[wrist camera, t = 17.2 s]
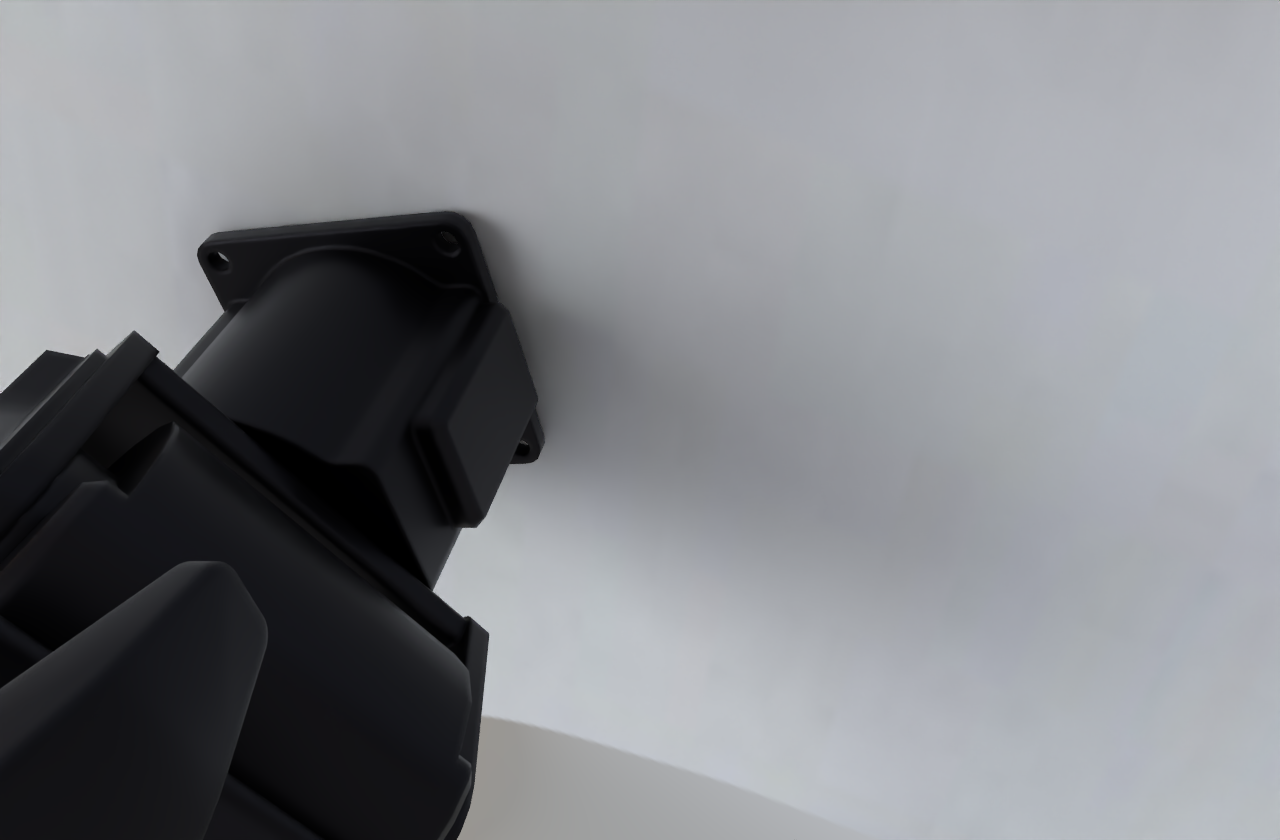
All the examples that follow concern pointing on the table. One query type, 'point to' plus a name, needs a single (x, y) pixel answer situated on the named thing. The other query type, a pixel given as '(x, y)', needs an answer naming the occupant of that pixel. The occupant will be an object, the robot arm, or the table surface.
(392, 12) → the table surface
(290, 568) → the robot arm
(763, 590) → the table surface
